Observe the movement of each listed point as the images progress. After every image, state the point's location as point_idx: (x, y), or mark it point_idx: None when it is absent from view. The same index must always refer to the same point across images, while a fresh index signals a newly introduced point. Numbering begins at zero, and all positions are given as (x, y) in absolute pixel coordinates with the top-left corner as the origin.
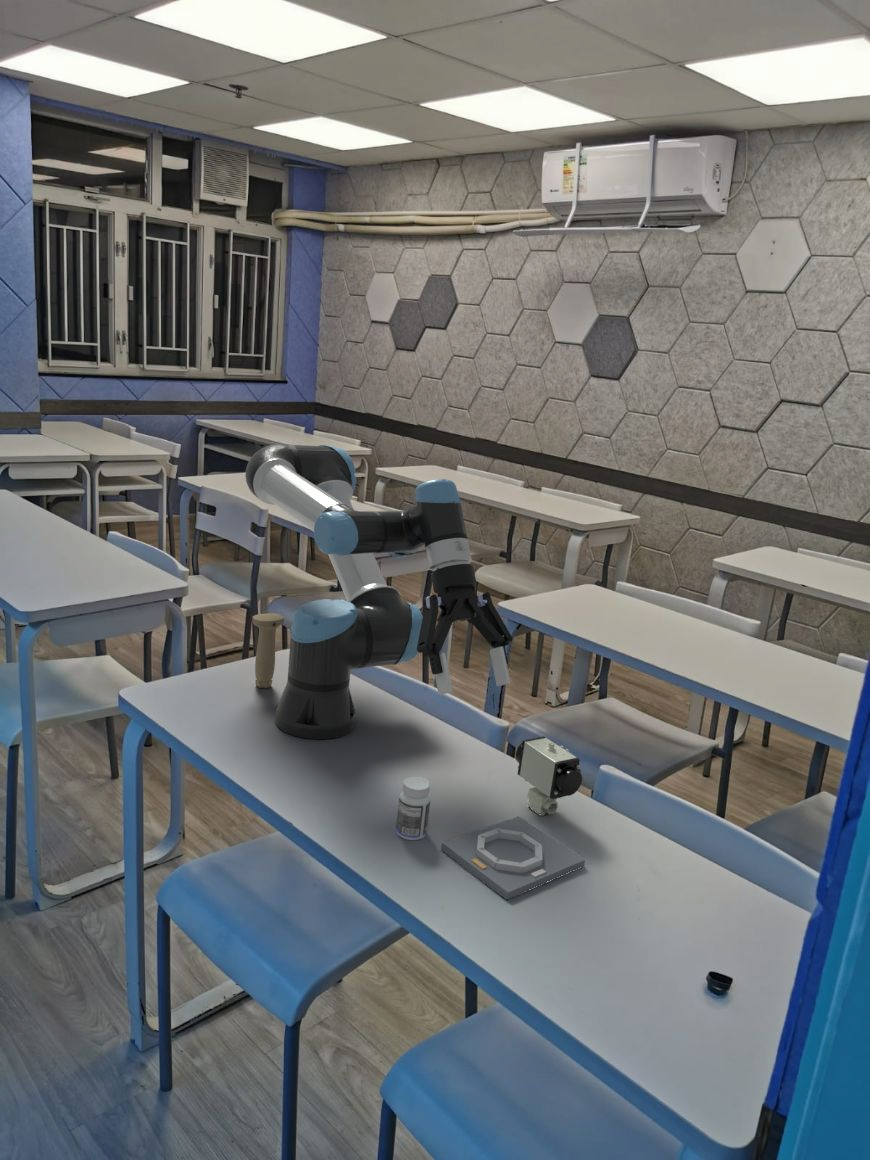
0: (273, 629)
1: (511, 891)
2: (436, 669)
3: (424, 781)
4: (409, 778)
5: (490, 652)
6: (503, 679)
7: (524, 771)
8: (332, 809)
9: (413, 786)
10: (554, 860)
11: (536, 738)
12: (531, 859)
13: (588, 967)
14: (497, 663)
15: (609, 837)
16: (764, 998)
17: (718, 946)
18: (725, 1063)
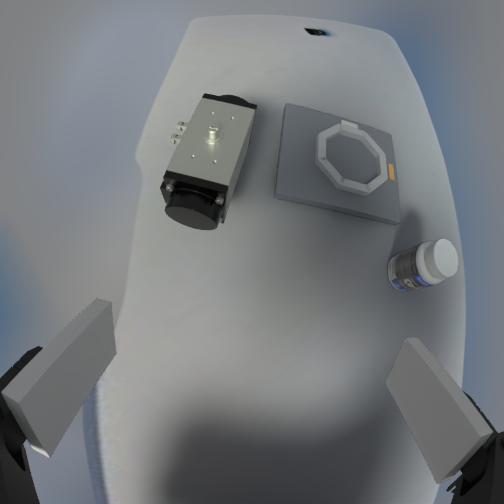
0: None
1: (387, 133)
2: (470, 400)
3: (438, 253)
4: (448, 273)
5: (54, 446)
6: (104, 326)
7: (229, 201)
8: None
9: (453, 253)
10: (316, 122)
11: (188, 180)
12: (349, 131)
13: (378, 79)
14: (73, 383)
15: None
16: (303, 19)
17: (282, 33)
18: (361, 32)
